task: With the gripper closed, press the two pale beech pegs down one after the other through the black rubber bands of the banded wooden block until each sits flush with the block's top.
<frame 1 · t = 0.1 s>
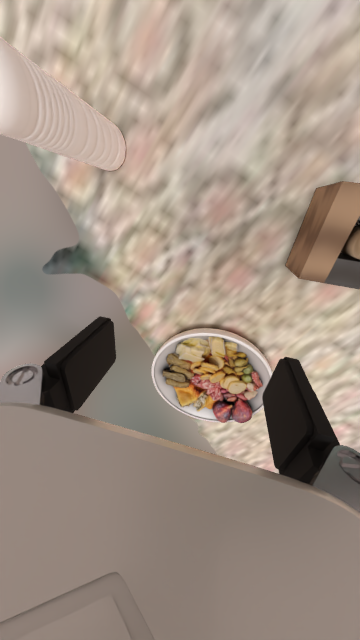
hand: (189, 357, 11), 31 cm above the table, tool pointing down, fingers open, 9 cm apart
bowl: (210, 369, 53), on the table
water bottle: (106, 140, 33), on the table
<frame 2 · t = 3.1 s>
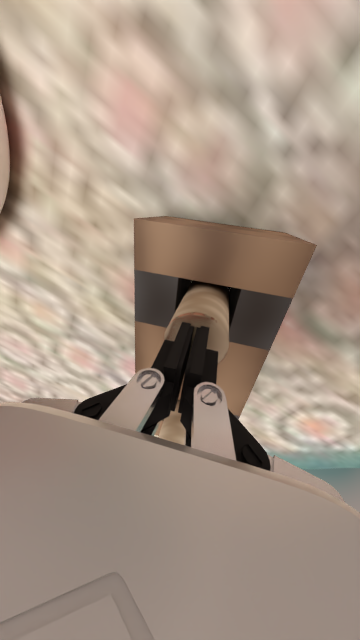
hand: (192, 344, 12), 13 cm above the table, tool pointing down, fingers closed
beech peg 2: (180, 424, 22), point 9 cm above the table, slide at 5.0 cm
banded wooden block: (201, 330, 26), on the table
beech peg 1: (202, 314, 15), point 9 cm above the table, slide at 4.3 cm, touching gripper
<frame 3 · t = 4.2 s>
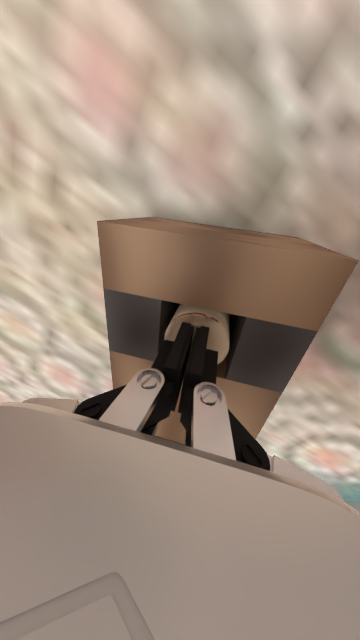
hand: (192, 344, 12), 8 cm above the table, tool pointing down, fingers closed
beech peg 2: (170, 469, 18), point 9 cm above the table, slide at 5.0 cm
banded wooden block: (196, 350, 22), on the table
beech peg 1: (203, 314, 15), point 4 cm above the table, slide at -0.1 cm, touching gripper
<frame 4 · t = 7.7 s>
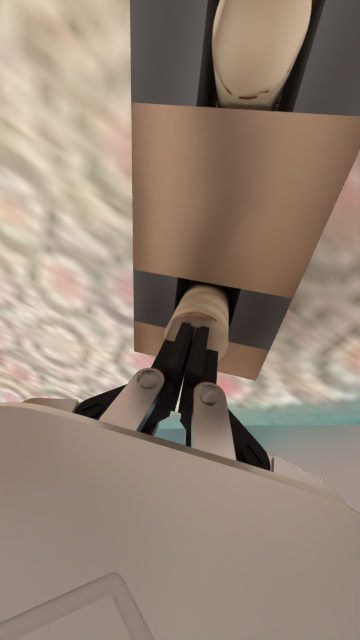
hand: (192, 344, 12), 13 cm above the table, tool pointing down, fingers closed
beech peg 2: (202, 314, 15), point 9 cm above the table, slide at 4.3 cm, touching gripper
banded wooden block: (224, 212, 19), on the table
beech peg 1: (250, 81, 12), point 4 cm above the table, slide at -0.1 cm
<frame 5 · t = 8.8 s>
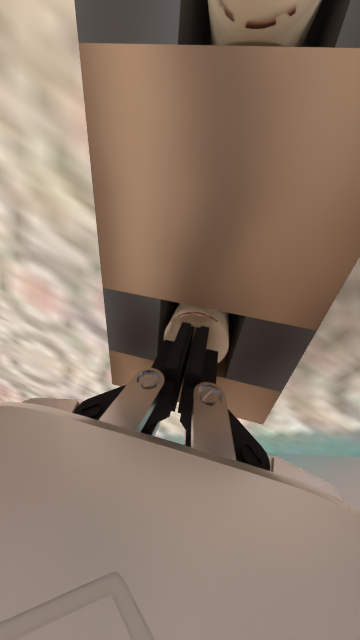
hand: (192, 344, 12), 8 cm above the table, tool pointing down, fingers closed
beech peg 2: (202, 314, 15), point 4 cm above the table, slide at 0.0 cm, touching gripper
banded wooden block: (224, 212, 15), on the table
beech peg 1: (260, 20, 8), point 4 cm above the table, slide at -0.1 cm
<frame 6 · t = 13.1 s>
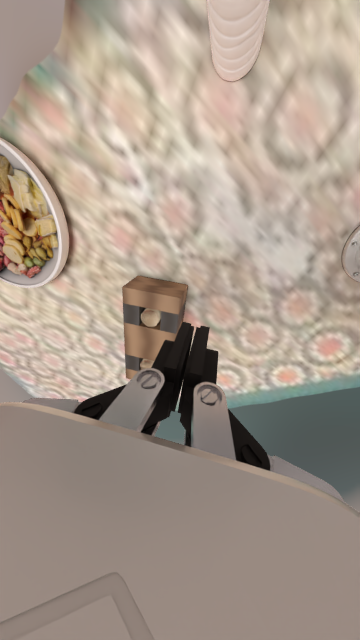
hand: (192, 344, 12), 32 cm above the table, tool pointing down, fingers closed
beech peg 2: (152, 357, 51), point 4 cm above the table, slide at 0.0 cm
bowl: (19, 220, 46), on the table
banded wooden block: (159, 327, 51), on the table
beech peg 1: (155, 310, 44), point 4 cm above the table, slide at -0.1 cm
water bottle: (244, 42, 26), on the table
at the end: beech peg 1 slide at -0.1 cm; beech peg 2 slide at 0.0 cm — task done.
